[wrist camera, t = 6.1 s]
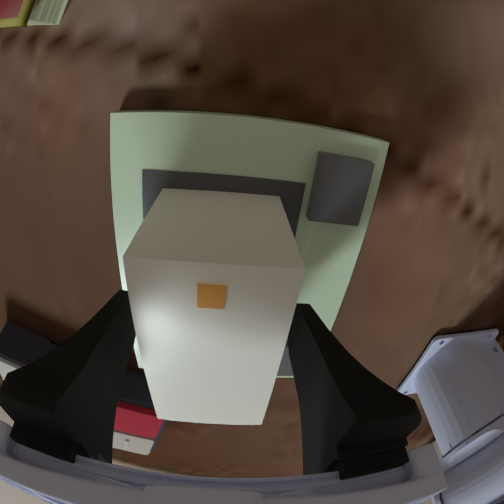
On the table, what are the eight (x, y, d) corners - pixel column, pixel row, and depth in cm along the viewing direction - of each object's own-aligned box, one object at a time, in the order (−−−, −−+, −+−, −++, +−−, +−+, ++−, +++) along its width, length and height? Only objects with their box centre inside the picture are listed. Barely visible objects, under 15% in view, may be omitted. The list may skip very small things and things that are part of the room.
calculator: (152, 459, 24) (14, 416, 19) (154, 424, 27) (25, 384, 23) (173, 419, 19) (-15, 355, 14) (176, 372, 22) (7, 317, 18)
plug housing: (279, 196, 13) (306, 270, 8) (255, 343, 18) (261, 426, 13) (163, 188, 12) (121, 258, 8) (171, 338, 17) (157, 420, 12)
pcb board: (380, 138, 13) (425, 161, 9) (308, 366, 21) (318, 412, 17) (118, 110, 11) (76, 124, 8) (141, 356, 20) (130, 404, 16)
